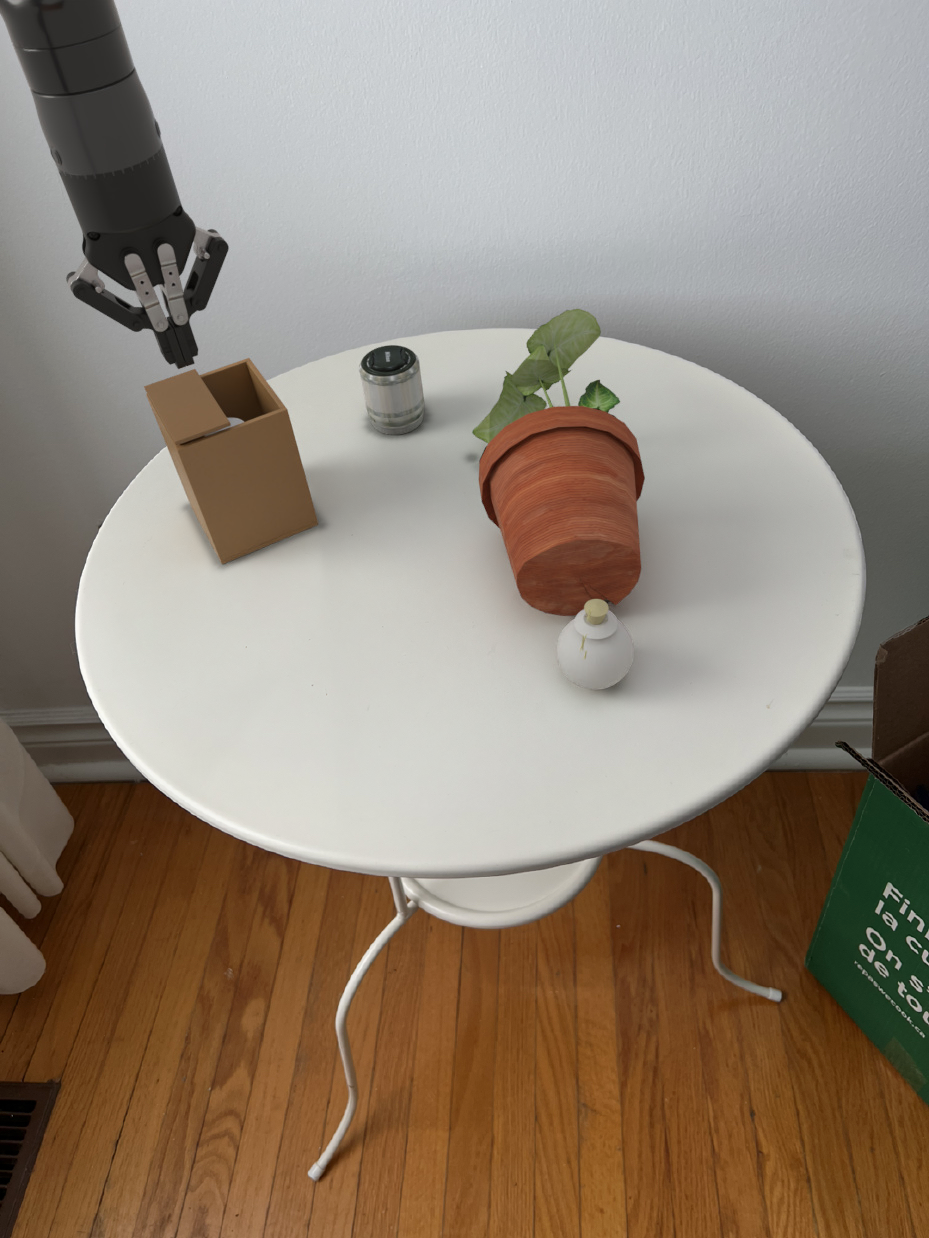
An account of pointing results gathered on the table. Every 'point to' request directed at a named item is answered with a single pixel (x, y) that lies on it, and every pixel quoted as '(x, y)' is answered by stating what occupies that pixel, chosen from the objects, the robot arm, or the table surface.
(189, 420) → the flap
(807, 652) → the table surface
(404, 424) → the camera lens
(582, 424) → the potted plant
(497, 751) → the table surface
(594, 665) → the white potion bottle
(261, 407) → the carton
